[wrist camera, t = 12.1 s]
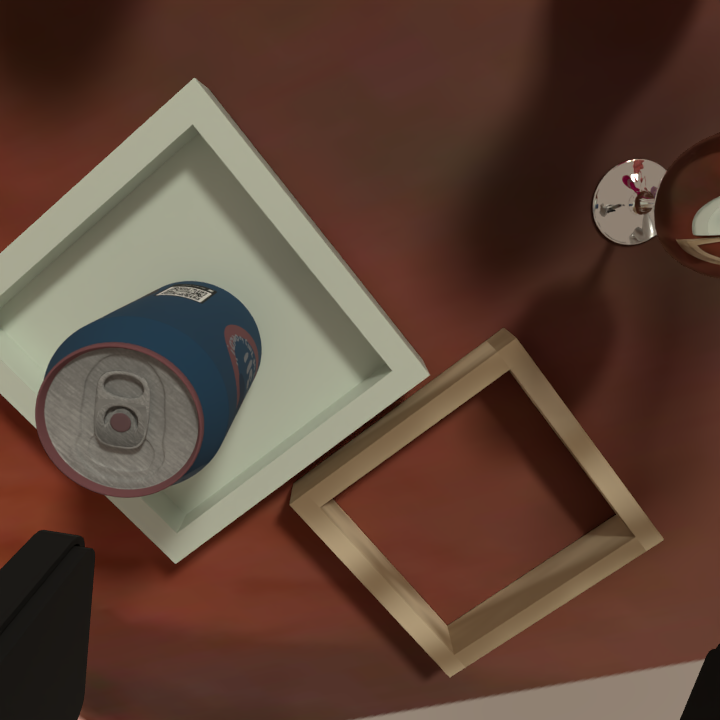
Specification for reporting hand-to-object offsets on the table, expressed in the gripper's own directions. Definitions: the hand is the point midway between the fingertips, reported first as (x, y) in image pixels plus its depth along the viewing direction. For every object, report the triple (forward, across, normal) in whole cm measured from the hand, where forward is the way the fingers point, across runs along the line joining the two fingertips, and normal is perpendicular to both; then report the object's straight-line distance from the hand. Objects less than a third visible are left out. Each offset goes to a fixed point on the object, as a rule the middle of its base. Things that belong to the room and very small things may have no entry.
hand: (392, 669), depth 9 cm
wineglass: (+25, -13, -9) cm, 30 cm away
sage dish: (+24, +9, +2) cm, 26 cm away
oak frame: (+25, -8, +10) cm, 28 cm away
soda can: (+24, +9, +2) cm, 25 cm away
